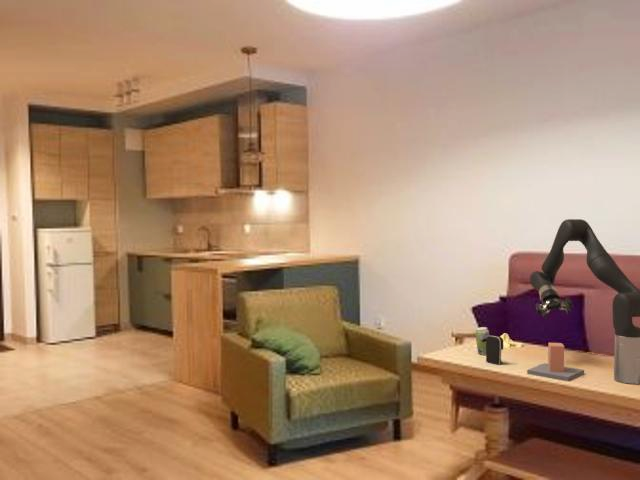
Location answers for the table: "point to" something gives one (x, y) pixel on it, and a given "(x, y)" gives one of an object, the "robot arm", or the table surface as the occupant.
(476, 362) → the table surface
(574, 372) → the base plate
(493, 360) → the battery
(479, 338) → the beverage can
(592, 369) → the table surface
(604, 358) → the table surface
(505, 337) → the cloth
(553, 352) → the salmon orange block
